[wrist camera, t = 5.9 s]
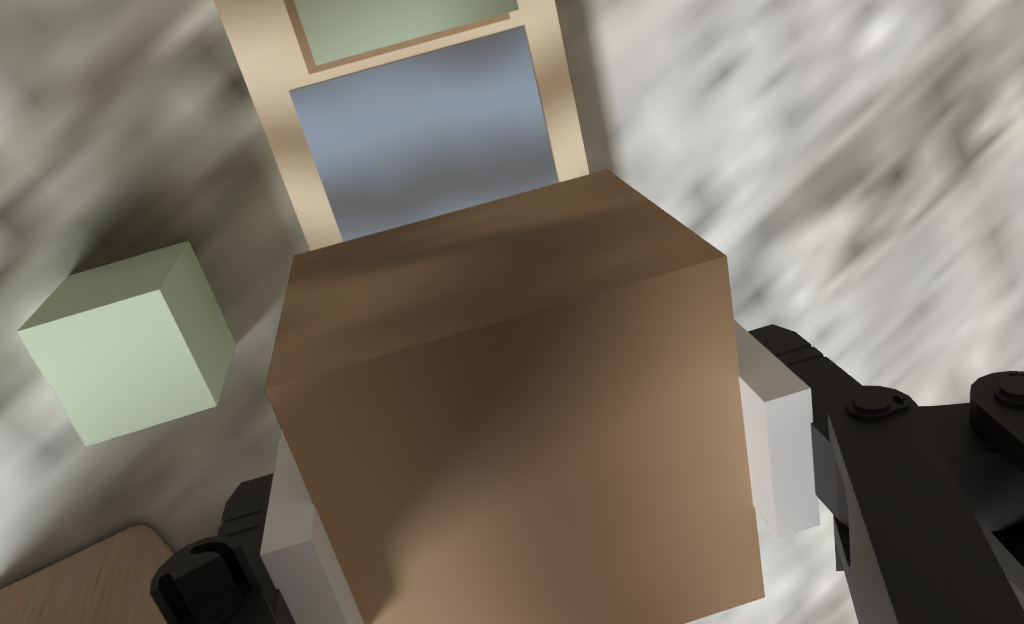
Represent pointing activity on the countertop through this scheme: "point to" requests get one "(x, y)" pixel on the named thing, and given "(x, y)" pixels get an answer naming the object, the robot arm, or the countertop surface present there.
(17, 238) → the countertop surface
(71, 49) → the countertop surface
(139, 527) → the block
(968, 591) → the robot arm
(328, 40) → the tower
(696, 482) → the walnut block
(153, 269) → the sage block
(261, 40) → the blueprint board
